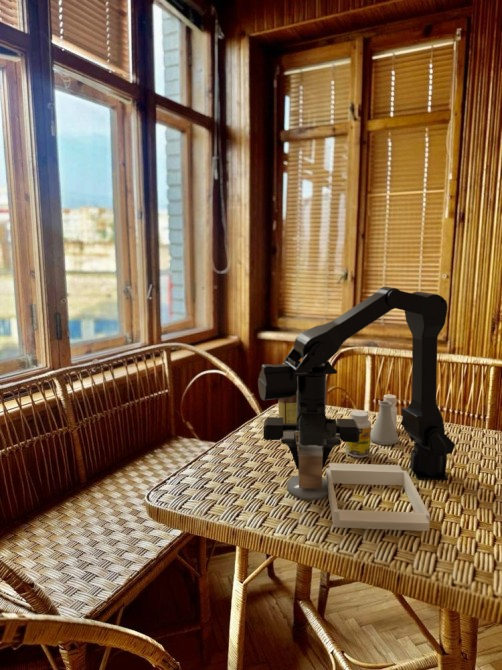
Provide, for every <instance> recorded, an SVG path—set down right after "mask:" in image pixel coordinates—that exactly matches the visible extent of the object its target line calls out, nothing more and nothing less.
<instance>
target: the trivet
mask: <svg viewBox="0 0 502 670" xmlns="http://www.w3.org/2000/svg"><path fill="white" fill-rule="evenodd" d="M286 489H287V492H288V493H289V494H290V495H291V496H293V497H295V498H297V499H300V500H303V501H304V500H305V501H317V500H319V501H320V500H323V499H325V498H327V497H328V487H327V482H326V478H324V477H322V489H315V488H299V480H298V475H295V476H293V477H291V478H289V479H288V481H287V483H286Z"/></svg>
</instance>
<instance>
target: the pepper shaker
mask: <svg viewBox="0 0 502 670" xmlns="http://www.w3.org/2000/svg"><path fill="white" fill-rule="evenodd" d="M383 401H388V402H391V403H392V404H393V405H392V406H391V416H392V420H393V424H394V427H395V430H396V431H397V420H398V419H397V417H398V407H397V406H396V404H397V396H396V395H394V394H389V393H388V394H384V395H383Z"/></svg>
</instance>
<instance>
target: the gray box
mask: <svg viewBox="0 0 502 670" xmlns="http://www.w3.org/2000/svg"><path fill="white" fill-rule="evenodd" d="M297 449H298V457H299V469H297V470H298V471H297V472H298V473H297V476H298V480H299V488H315V489H322V478H323V470H322V461H323V449H322V446H317V445H308V446H303V445H301V444H300V441H298V447H297Z"/></svg>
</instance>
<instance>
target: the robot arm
mask: <svg viewBox="0 0 502 670" xmlns="http://www.w3.org/2000/svg"><path fill="white" fill-rule="evenodd" d="M394 309H397V310H400V311H404V317H405V322H406V325H407V326H408V329H409V331H410V333H411V336H412V340H411V341H412V348H411V351H412V355H411V357H412V360H411V362H412V363H411V364H412V365H411V366H412V367H411V369H412V370H411V374H412V375H411V379H412V380H411V401H410V403H409V405H408V407H402V408H401V416H402V419H401V422H400V425H401V426H403V429H404V432H406V433H407V435H408V436H409V439H410V440H411V442H413V449H411V450H410V461H409V462H410V463H409V468H410V469H411V471H412V473H414V475H415V477H416V478H417V480H435V481H436V480H437V481H448V480H449V477H448V475H447V474H446V472H447V460H448V455H449V454H450V455H451V454H452V453H453V452H454V449H455V446H456V444H455V442H453V440H452V439H451V438H450V437H448V435H447V434H446V433H445V432H446V431H445V424H444V423H445V422H444V417H443V415H442V412H441V411H440V410H441V409H439V406H438V404H437V403H438V402H437V386H438V384H437V382H438V381H437V380H438V379H437V378H438V338H439V335H440V333H441V332H442V330H443V329H444V327H445V325H446V320H447V314H448V309H449V307H448V302H447V300H446V299H445V298H444V297H443V296H442V295H440V294H436V293H431V292H424V291H419V290H418V291H414V292H412V293H411V292H408V291H403V290H401V289H399V288H397V287H396V288H395V287H390V286H383V287H380V288H379V289H377V290H376V292H374V293H373V294H372V295H370V296H368V297H367V298H365V299H364V300H362V301H360V302H359V303H358V304H356V305H355V306H353V307H351V308H350V309H348V310H347V311H346V312H344V313H342V314H341V315H339V316H338V317H337V318H335V319H333V320H332V321H330V322H327V323H324V324H320V325H316V326H314V327H311V328H309V329H307V330H304V331H302V332H300V333H299V334H298V335H297V336H296V337H295V339H294V340H295V341H294V344H293V345H294V346H293V347H292V348H291V350H290V351H289V353H288V354H287V355H286V357H285V358H284V360H283V363H284V364H283V363H280V364H279V363H278V364H277V363H276V364H269V363H266V364H265V363H263V364H261V371H260V372H259V375H258V378H257V385H258V386H257V387H258V393H259V397H260V399H261V400H262V401H269V400H279V399H284V398H291V397H292V396H294V395H295V394H296V391H297V418H296V423H283V419H284V417H279V416H276V417H275V416H272V417H271V416H267V417H266V418H265V419H264V422H263V439H264V440H266V441H281V444H283V445H286V446H287V447H288V449H289V450H290V453H291V455H292V458H293V461H294V464H295V468H296V469H297V470H298V469H299V457H298V442H299V441H300V444H301V445H303V446H308V445H317V446H322V449H323V461H322V471H323V470H324V468H325V466H326V464H327V461H328V459H329V456H330V453H331V451H332V450H333V449H334V448H335V447H336V446H340V445H341V444H342V442H343V443H346V442H359V438H360V431H359V427H358V425H357V422H356V421H355V420H354V419H350V418H337V419H336V418H328V417H327V415H326V410H327V409H326V405H327V403H326V402H327V375H335V374H337V373H338V370H337V369H335V367H334V366H333V365H332V364H331V362H330V361H329V360H330V359H331V358H332V357H334V356H335V355H336V353H338V351H340V349H341V347H342V345H343V344H345V342H346V341H347V340H348V339H350V338H351V337H353V336H354V335H356V334H357V333H359V332H360V331H362V330H363V329H364V328H367V327H368V326H370V325H371V324H372V323H374V322H376V321H377V320H378V319H380V318H381V317H383V316H384V315H386V314H388V313H389V312H390V311H392V310H394ZM300 360H301V361H300ZM296 433H299V441H297V440H296Z"/></svg>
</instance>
